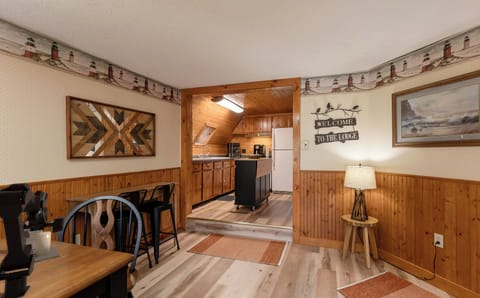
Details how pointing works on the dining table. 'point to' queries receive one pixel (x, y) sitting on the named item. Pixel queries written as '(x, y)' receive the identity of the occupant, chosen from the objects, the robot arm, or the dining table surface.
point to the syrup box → (32, 237)
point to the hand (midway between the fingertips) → (41, 235)
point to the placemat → (52, 254)
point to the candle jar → (43, 243)
